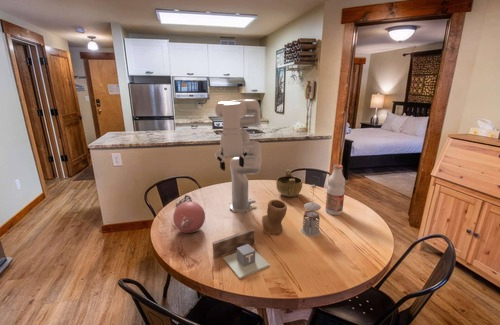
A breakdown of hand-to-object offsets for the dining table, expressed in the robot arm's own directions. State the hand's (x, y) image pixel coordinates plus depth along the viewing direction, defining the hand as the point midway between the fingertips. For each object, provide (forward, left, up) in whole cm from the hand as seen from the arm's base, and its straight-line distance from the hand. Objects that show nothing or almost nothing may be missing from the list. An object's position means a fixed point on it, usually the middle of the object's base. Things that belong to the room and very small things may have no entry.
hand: (232, 168), depth 120 cm
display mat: (+7, +24, -33) cm, 42 cm away
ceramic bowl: (-52, -20, -34) cm, 65 cm away
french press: (-32, +21, -34) cm, 51 cm away
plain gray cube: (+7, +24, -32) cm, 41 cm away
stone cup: (-19, +8, -34) cm, 39 cm away
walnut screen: (+7, +14, -33) cm, 37 cm away
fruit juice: (-59, +12, -34) cm, 69 cm away
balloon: (+20, -10, -34) cm, 40 cm away
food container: (+15, -28, -34) cm, 46 cm away
